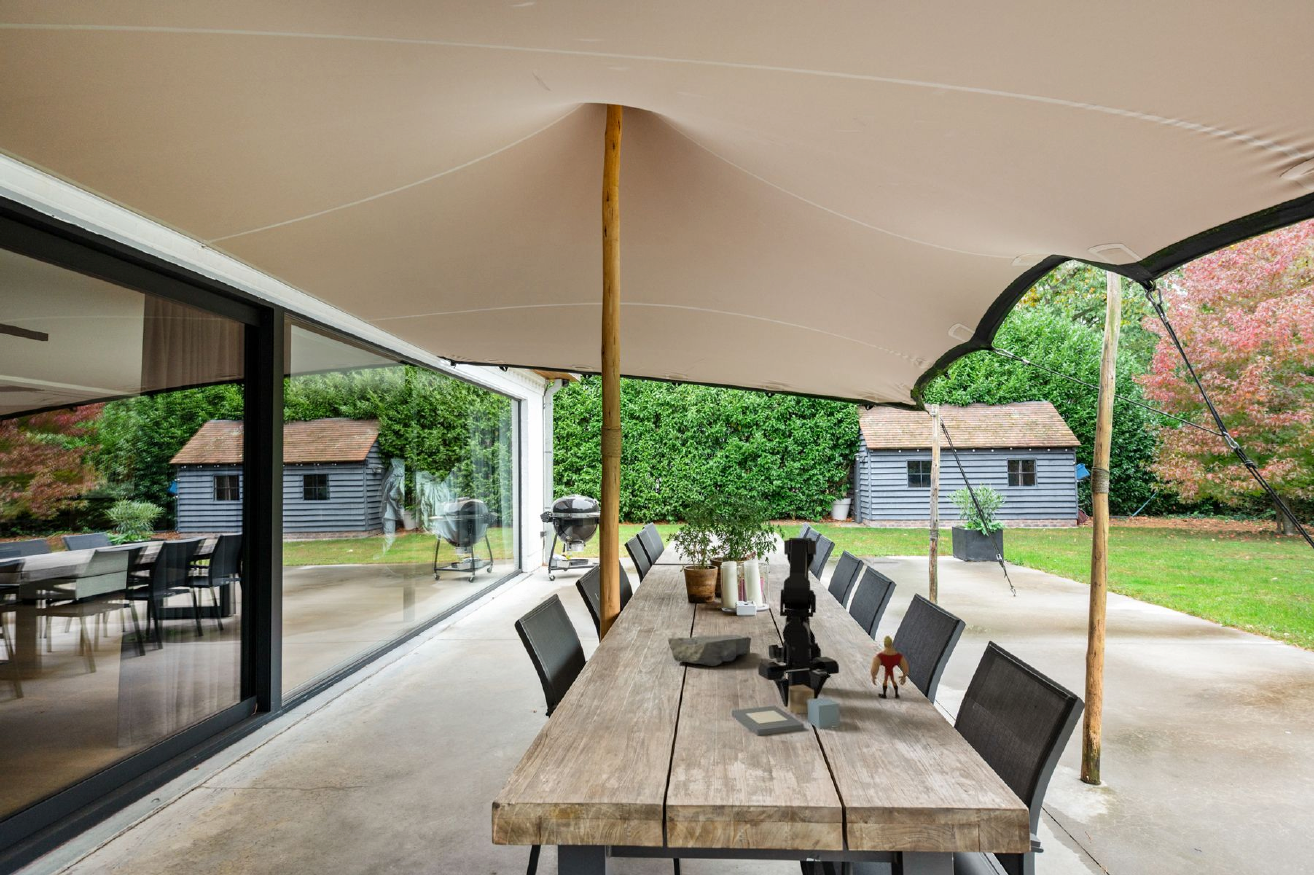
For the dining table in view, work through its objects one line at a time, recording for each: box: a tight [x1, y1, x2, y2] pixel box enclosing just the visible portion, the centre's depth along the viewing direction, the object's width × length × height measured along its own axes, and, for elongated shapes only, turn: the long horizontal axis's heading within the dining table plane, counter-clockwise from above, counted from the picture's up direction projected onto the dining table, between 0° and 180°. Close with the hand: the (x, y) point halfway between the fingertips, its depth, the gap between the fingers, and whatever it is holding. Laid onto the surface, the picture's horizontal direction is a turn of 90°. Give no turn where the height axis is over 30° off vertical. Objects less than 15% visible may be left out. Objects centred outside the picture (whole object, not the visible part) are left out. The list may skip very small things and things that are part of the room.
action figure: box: [870, 635, 910, 699], centre depth 184 cm, size 10×4×15 cm, turn 91°
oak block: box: [785, 685, 814, 715], centre depth 174 cm, size 5×5×5 cm
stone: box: [667, 634, 752, 667], centre depth 225 cm, size 24×8×25 cm
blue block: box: [807, 697, 840, 730], centre depth 164 cm, size 5×5×5 cm
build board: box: [731, 705, 805, 736], centre depth 165 cm, size 11×14×1 cm
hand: (799, 705), depth 174 cm, fingers open, 7 cm apart
